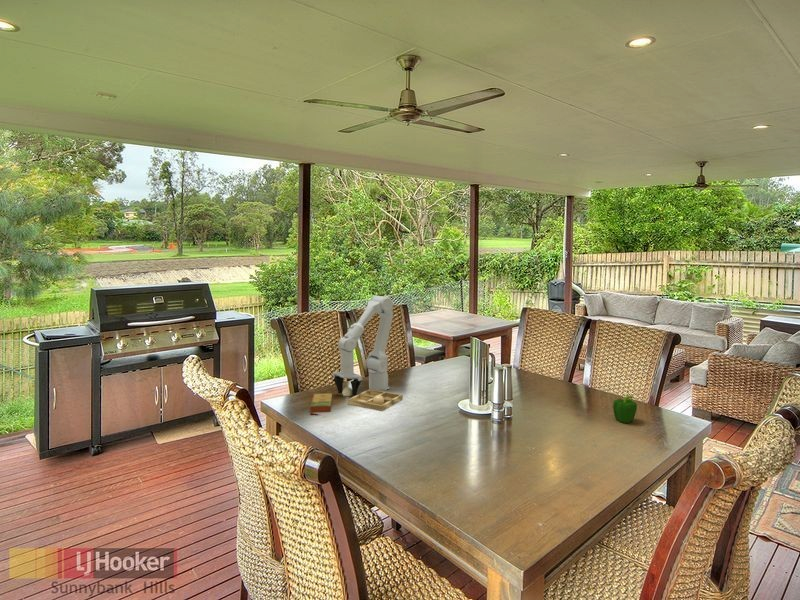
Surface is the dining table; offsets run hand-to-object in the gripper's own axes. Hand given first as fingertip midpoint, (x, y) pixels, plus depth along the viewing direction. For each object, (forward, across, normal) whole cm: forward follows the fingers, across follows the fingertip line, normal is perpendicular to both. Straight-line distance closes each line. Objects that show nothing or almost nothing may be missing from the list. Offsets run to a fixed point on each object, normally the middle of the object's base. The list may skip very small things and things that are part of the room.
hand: (347, 394), depth 216 cm
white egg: (+1, 0, 0) cm, 1 cm away
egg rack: (+1, +16, -2) cm, 16 cm away
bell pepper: (+2, +110, +29) cm, 114 cm away
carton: (+2, -1, -17) cm, 17 cm away
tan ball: (0, +20, -6) cm, 21 cm away
